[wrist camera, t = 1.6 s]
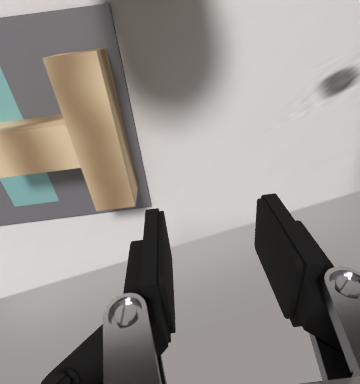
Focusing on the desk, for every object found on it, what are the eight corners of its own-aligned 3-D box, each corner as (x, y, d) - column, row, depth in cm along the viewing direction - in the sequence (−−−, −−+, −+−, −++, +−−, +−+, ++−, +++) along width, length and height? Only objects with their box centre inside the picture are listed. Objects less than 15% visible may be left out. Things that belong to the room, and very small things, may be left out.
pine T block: (106, 47, 22) (96, 50, 19) (138, 186, 30) (135, 206, 26) (-32, 65, 22) (-67, 72, 19) (34, 199, 30) (18, 221, 26)
